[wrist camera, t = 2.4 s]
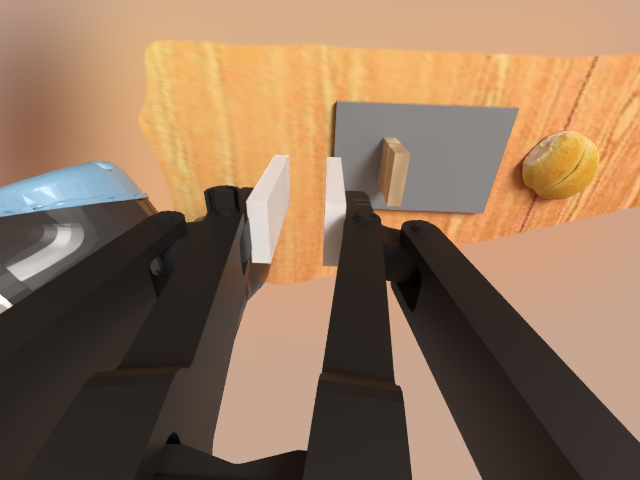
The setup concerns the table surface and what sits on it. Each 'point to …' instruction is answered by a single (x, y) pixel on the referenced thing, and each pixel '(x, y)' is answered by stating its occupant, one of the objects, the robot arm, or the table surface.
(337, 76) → the table surface
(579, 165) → the bread roll
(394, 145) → the light wood flat block
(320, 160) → the table surface
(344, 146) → the slate board
